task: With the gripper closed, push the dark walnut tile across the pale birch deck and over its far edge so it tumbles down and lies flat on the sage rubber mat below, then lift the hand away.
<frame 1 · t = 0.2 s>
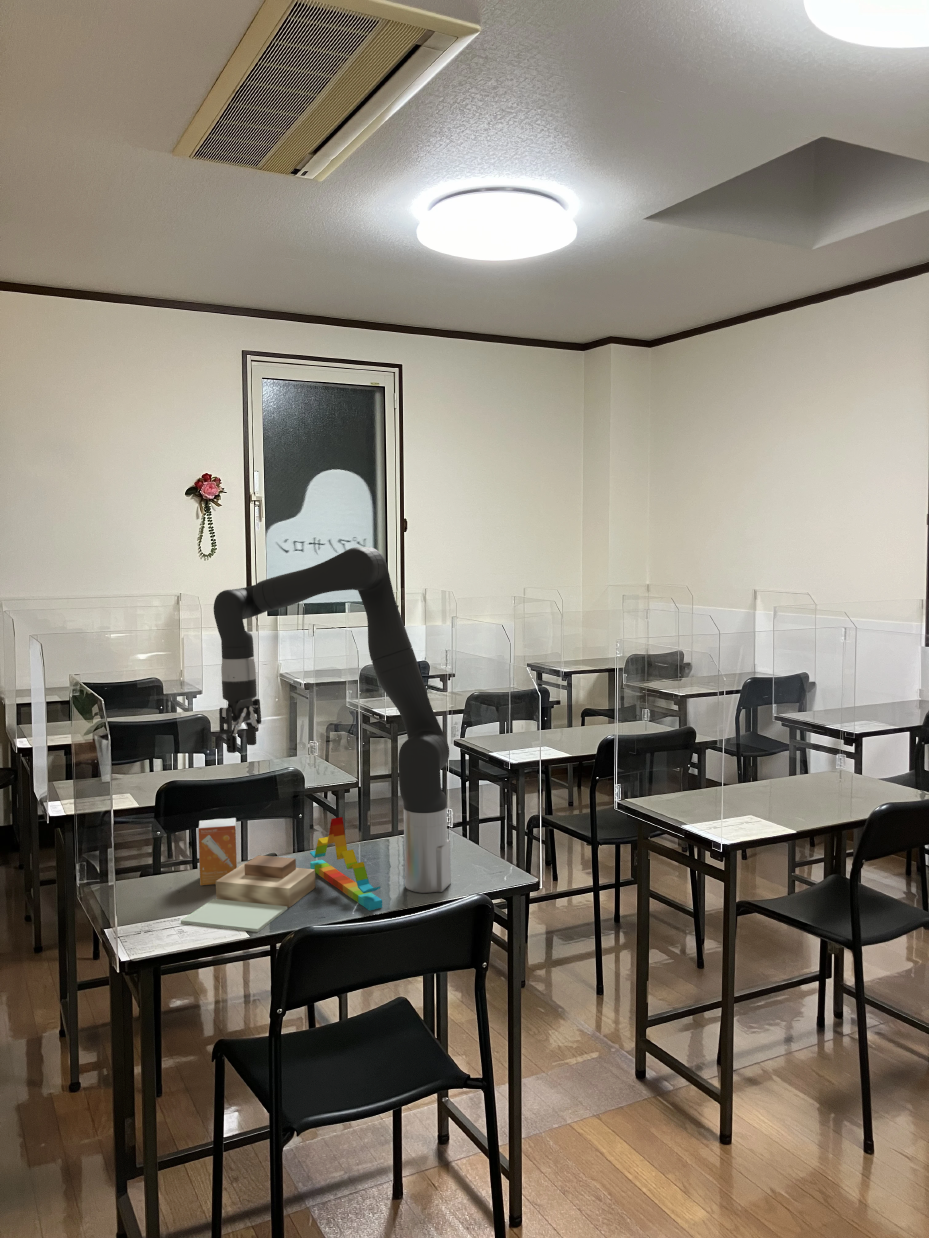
hand: (242, 748, 223), 28 cm above the table, tool pointing down, fingers open, 8 cm apart
walnut tile: (270, 866, 211), point 5 cm above the table, touching birch deck
small box: (219, 880, 219), on the table
birch deck: (266, 893, 210), on the table
sage mat: (234, 916, 197), on the table
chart: (344, 889, 213), on the table
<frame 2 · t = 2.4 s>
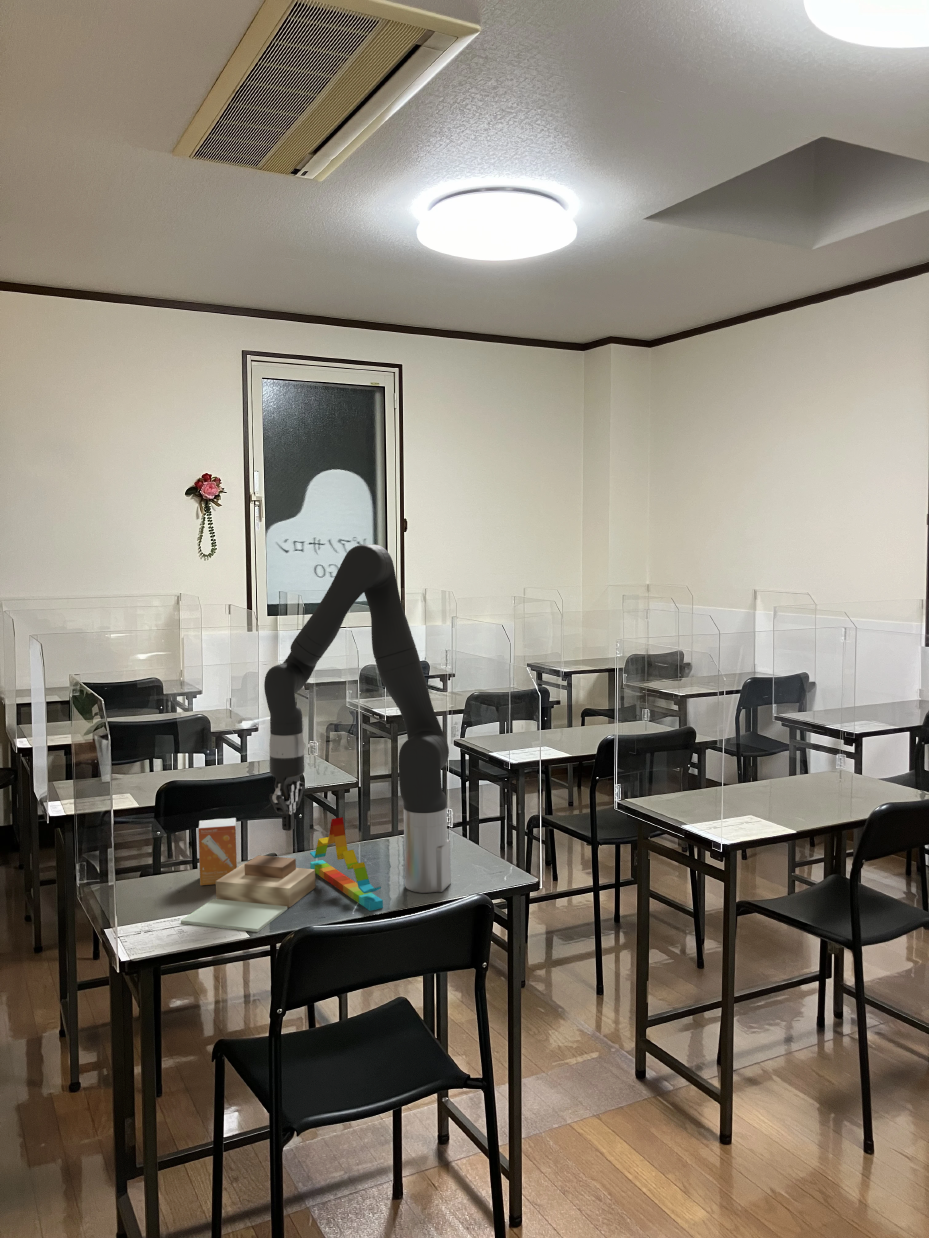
hand: (288, 829, 219), 11 cm above the table, tool pointing down, fingers closed
nothing on the table moved.
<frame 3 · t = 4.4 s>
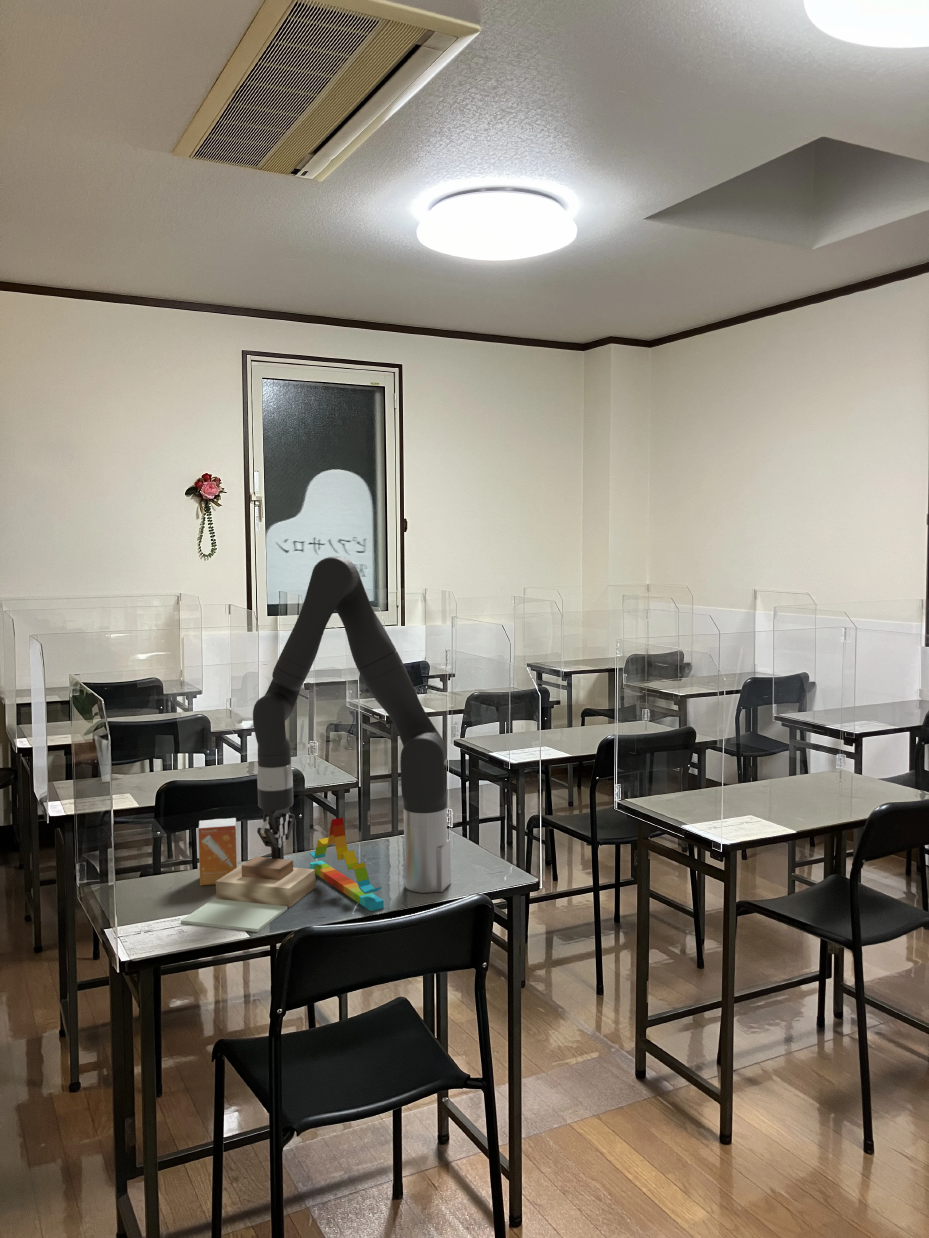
hand: (277, 862, 215), 5 cm above the table, tool pointing down, fingers closed
walnut tile: (267, 868, 210), point 5 cm above the table, touching gripper
everything else where it was.
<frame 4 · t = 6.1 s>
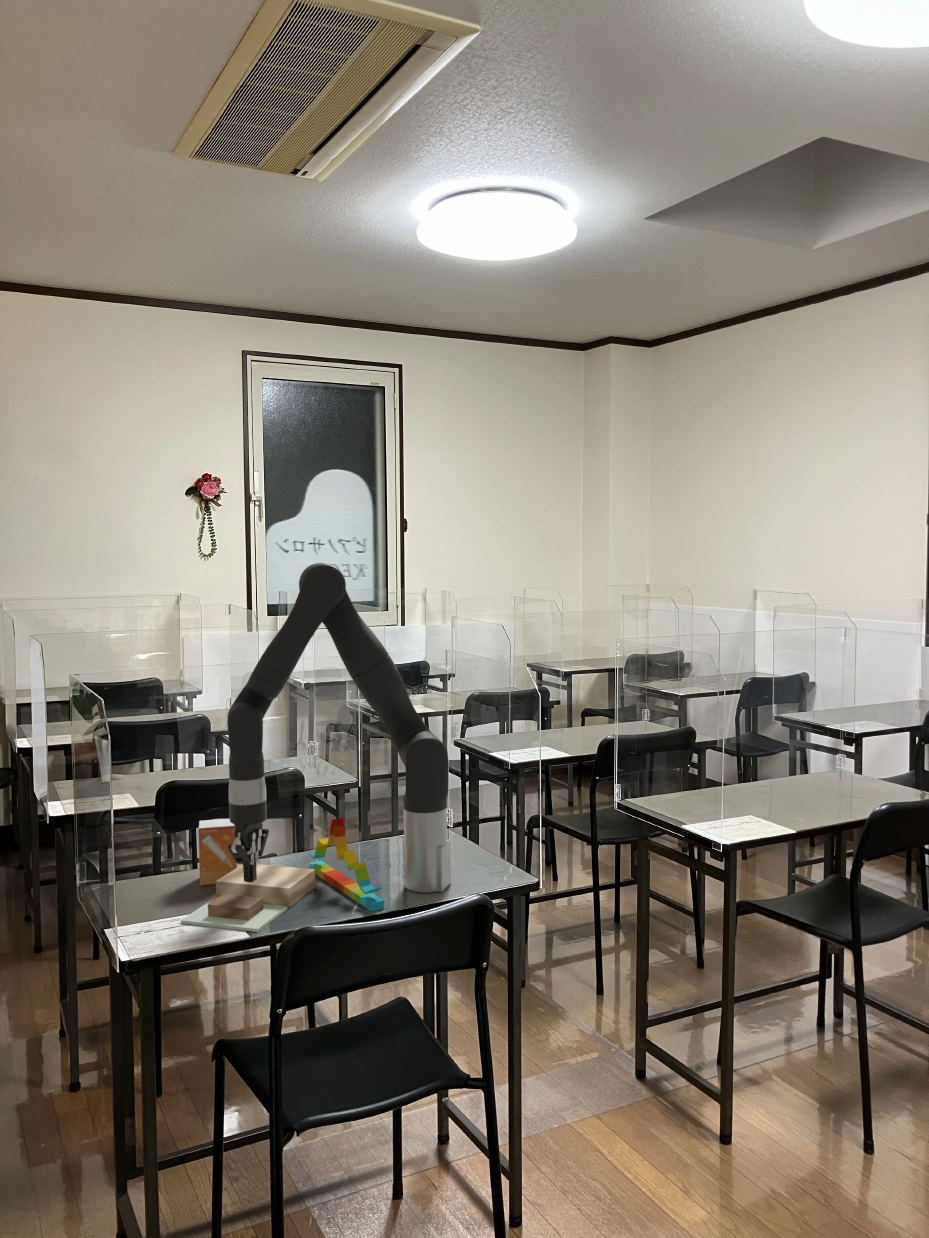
hand: (250, 880, 203), 5 cm above the table, tool pointing down, fingers closed
walnut tile: (235, 906, 197), point 2 cm above the table, tilted 180°, touching sage mat
everything else where it was.
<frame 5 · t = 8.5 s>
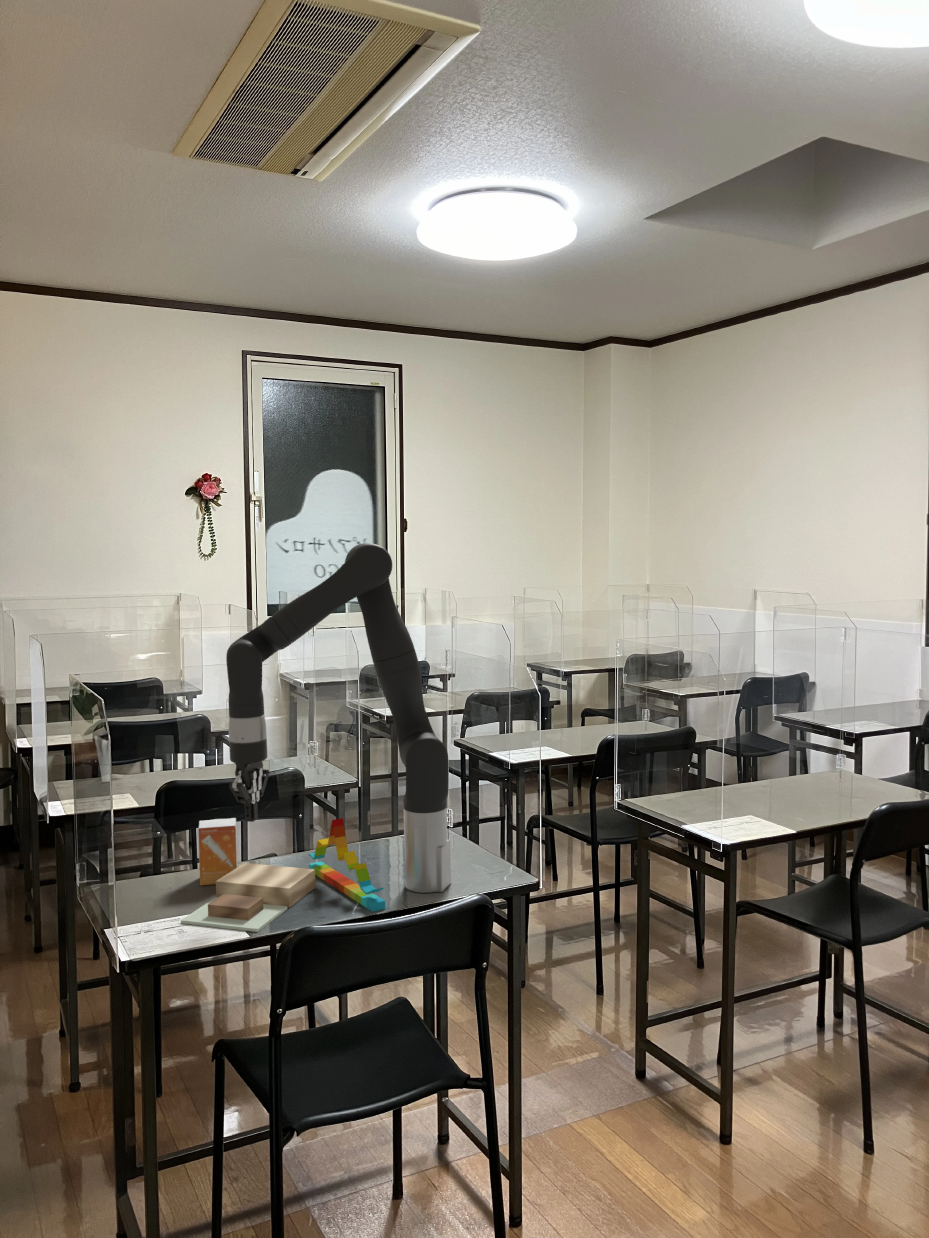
hand: (251, 820, 203), 18 cm above the table, tool pointing down, fingers closed
nothing on the table moved.
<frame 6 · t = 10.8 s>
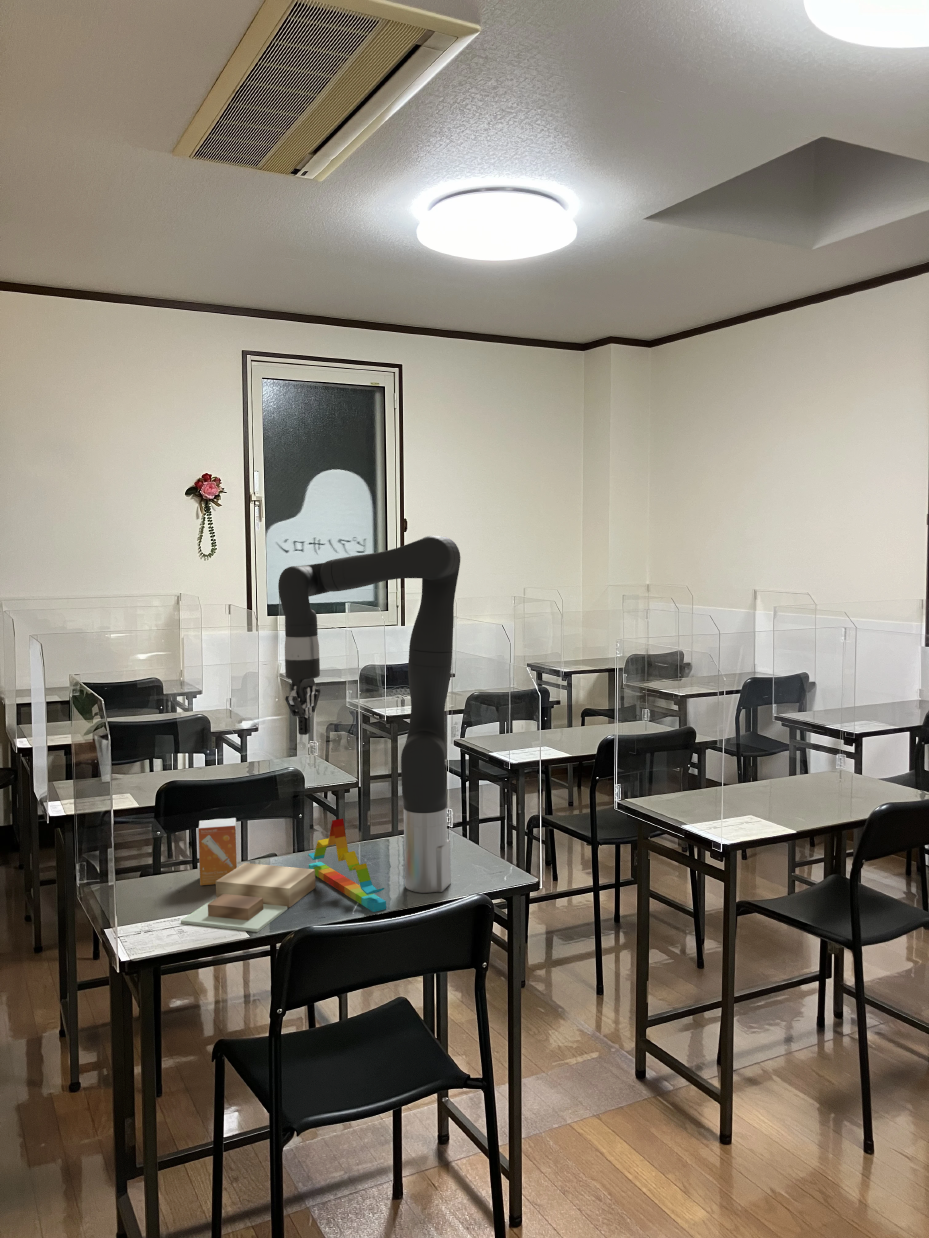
hand: (304, 733, 218), 32 cm above the table, tool pointing down, fingers closed
at the end: walnut tile inside the target area (0.3 cm from its centre), point 1.8 cm above the table; walnut tile touching sage mat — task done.
